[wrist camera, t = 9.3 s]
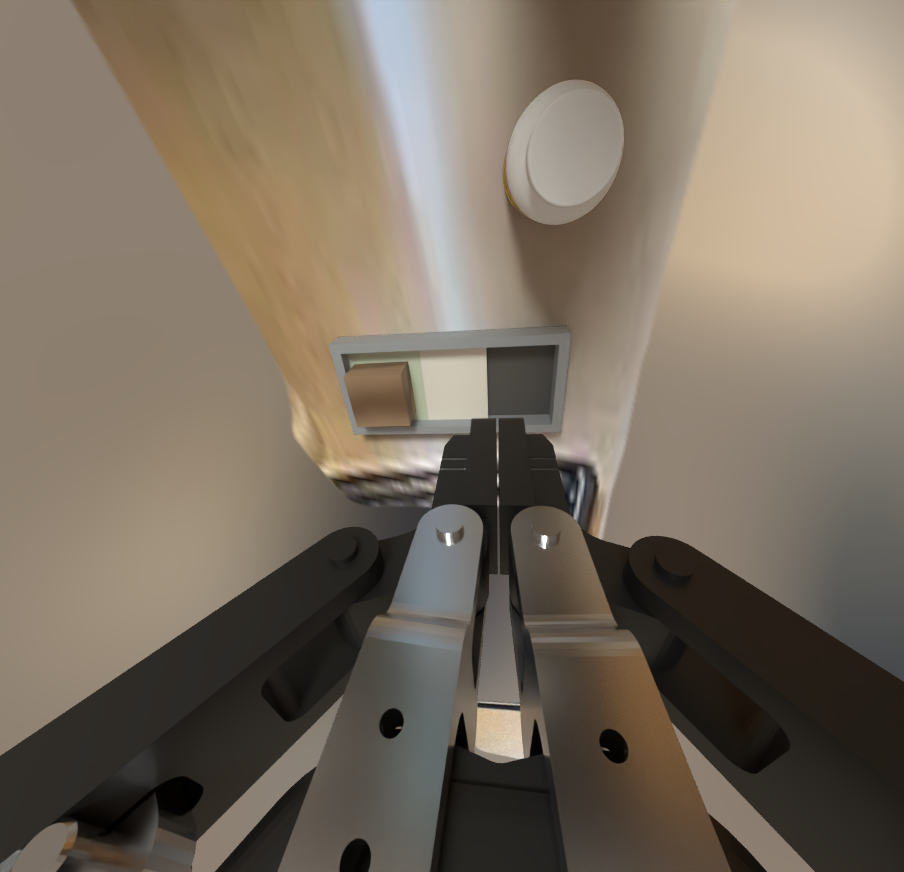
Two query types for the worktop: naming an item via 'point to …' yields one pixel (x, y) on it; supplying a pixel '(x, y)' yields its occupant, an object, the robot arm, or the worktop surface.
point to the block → (381, 394)
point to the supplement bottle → (564, 153)
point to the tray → (469, 376)
